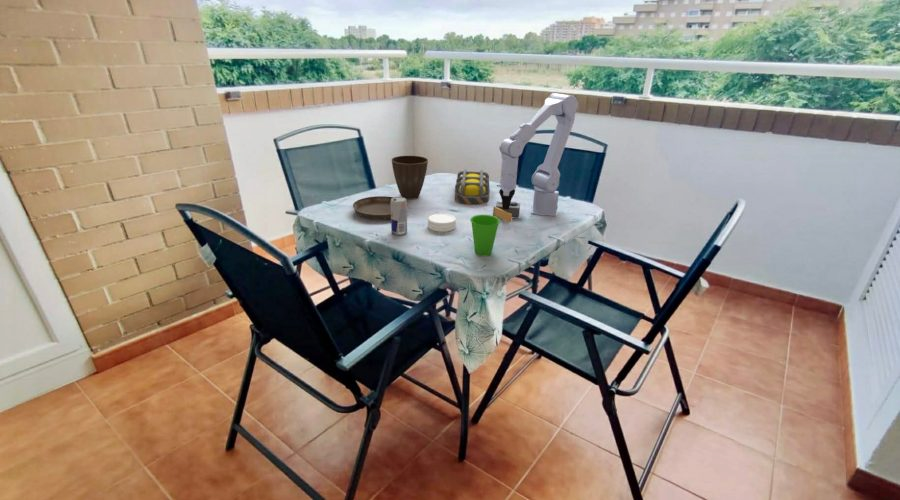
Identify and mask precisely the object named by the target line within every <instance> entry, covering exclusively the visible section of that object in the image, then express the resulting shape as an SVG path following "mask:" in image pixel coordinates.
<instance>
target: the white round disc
mask: <svg viewBox="0 0 900 500" xmlns="http://www.w3.org/2000/svg"><path fill="white" fill-rule="evenodd" d="M456 227H457V219H456V217H455V216H454V215H452V214H448V213H435V214H432V215H430V216H428V218H427V228H428V229H429V230H430V231H434V232H437V233H439V232H440V233H445V232H451V231H454V230H455V229H456Z"/></svg>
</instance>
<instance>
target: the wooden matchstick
mask: <svg viewBox="0 0 900 500" xmlns="http://www.w3.org/2000/svg"><path fill="white" fill-rule="evenodd" d="M492 211H493V212H492V216H493V215H495V217H497V218H499V219H500V220H503V221H505V222H507V223H510V224H511V223H512V219H513V218H512V214H510V213H508V212H506V211H504V210H502V209H499V208H497V207H496V205H495V206H493V209H492Z"/></svg>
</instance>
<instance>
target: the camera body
mask: <svg viewBox="0 0 900 500" xmlns="http://www.w3.org/2000/svg"><path fill="white" fill-rule="evenodd" d="M495 207H497V208H499V209H502V210H504V211H506V212H508V213H510V214H512V219H514V218H515V219H520V209H521V203H520V202H517V201H511V203H510V206H509V209H508V210H507V209H503V207H502V200H501V201H500V200H499V201H496V204H495ZM492 216H495V215H493V214H492ZM495 217H496V216H495Z"/></svg>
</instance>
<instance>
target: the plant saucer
mask: <svg viewBox="0 0 900 500" xmlns="http://www.w3.org/2000/svg"><path fill="white" fill-rule="evenodd" d="M392 198H394V196H386V195H384V196H383V195H378V196H376V195H375V196H368V197H363V198H360V199H358V200H356V201H355V202H354V203H353V204H352V208H353V210H354V211H355V212H356V213H357V214H358V215H359V216H361V217H363V218H365V219H370V220H375V221H377V220H378V221H379V220H391V204H390V202H391V199H392Z"/></svg>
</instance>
